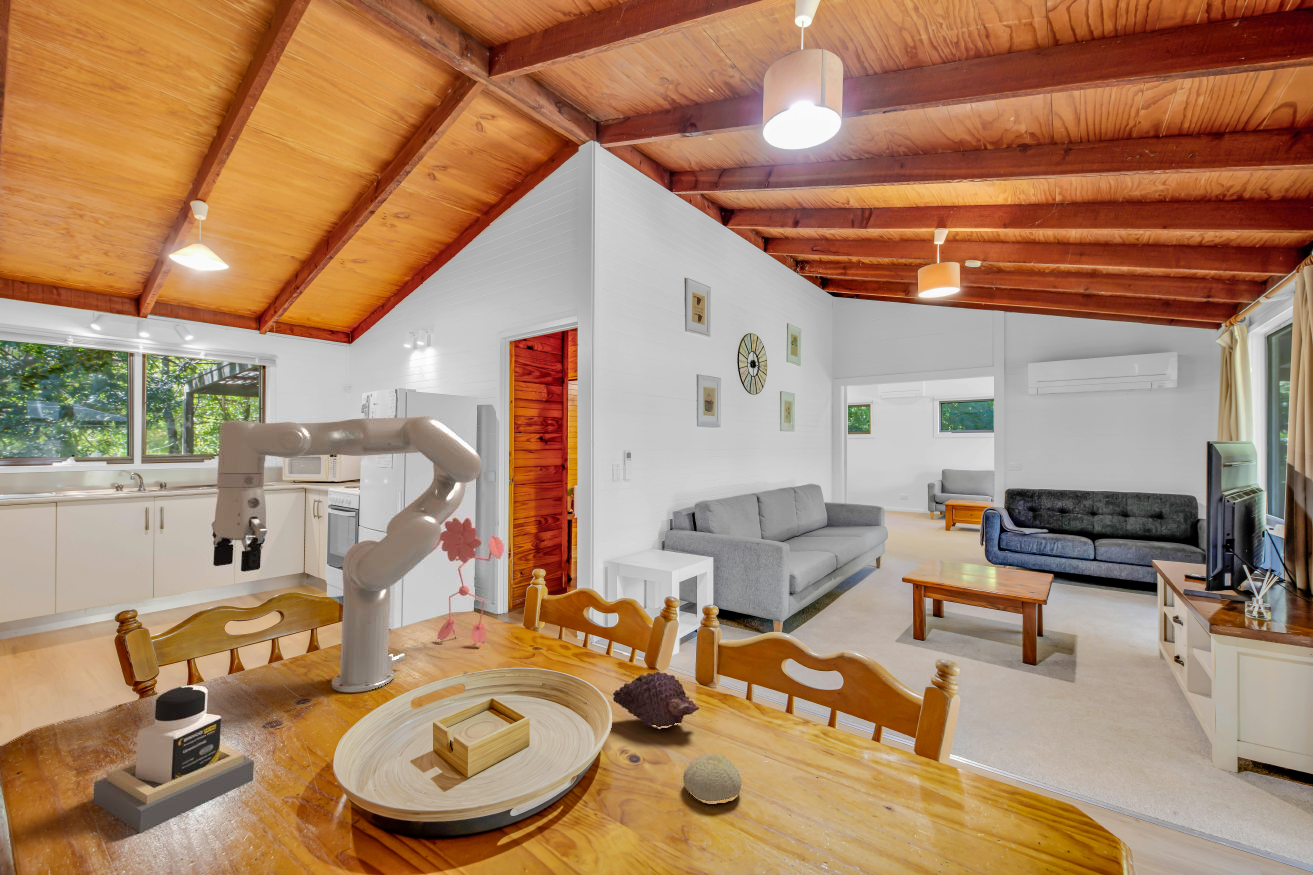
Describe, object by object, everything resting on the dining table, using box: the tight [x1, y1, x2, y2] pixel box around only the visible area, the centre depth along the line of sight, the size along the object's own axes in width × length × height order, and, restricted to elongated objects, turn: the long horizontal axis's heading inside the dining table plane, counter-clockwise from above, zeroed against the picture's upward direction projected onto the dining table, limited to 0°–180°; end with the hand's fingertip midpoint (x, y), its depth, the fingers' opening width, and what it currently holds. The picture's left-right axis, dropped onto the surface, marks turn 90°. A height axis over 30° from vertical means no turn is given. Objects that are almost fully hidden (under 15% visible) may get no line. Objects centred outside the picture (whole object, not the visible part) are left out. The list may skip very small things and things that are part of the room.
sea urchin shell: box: [682, 753, 742, 801], centre depth 87 cm, size 9×8×8 cm
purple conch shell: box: [612, 671, 700, 727], centre depth 109 cm, size 18×10×10 cm, turn 74°
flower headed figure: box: [432, 517, 505, 645], centre depth 148 cm, size 15×26×35 cm, turn 73°
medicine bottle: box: [135, 684, 222, 784], centre depth 85 cm, size 7×7×12 cm
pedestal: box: [92, 743, 255, 834], centre depth 84 cm, size 14×14×4 cm
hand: (236, 567), depth 111 cm, fingers open, 9 cm apart
